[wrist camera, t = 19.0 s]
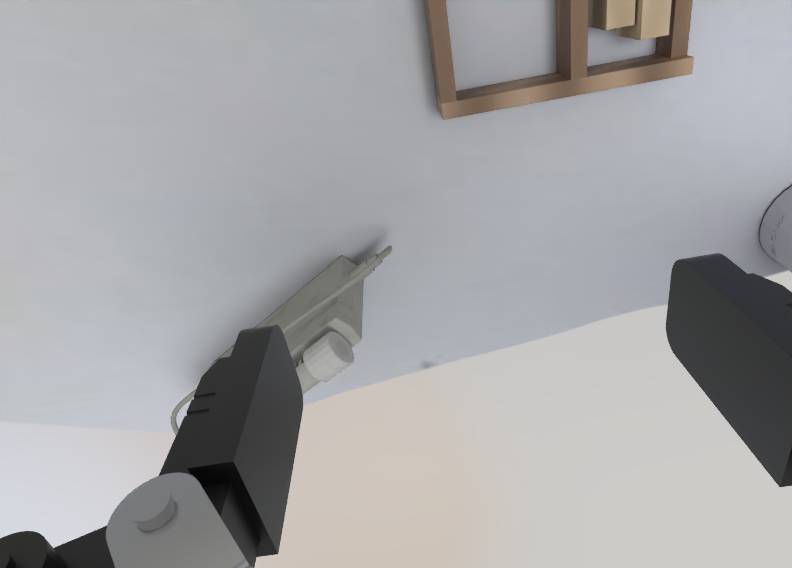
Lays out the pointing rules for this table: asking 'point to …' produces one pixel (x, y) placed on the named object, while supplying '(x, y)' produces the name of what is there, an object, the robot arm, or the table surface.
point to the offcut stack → (631, 17)
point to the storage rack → (558, 63)
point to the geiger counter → (320, 322)
